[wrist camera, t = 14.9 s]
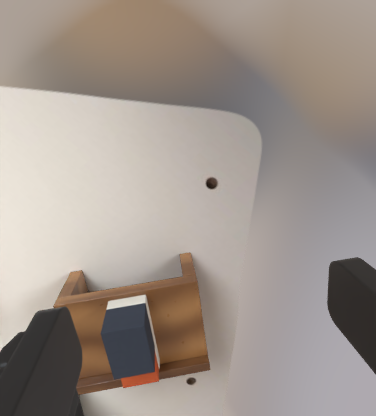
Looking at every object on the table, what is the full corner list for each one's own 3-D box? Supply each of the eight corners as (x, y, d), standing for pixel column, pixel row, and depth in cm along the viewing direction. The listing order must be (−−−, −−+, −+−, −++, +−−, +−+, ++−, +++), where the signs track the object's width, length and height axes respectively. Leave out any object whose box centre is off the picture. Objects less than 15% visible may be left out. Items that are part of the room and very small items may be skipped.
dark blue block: (108, 300, 32) (100, 333, 28) (145, 294, 33) (144, 325, 28) (125, 365, 36) (120, 404, 31) (159, 358, 36) (160, 396, 31)
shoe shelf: (70, 272, 38) (49, 313, 31) (190, 252, 39) (198, 287, 32) (92, 343, 42) (78, 395, 35) (200, 323, 43) (210, 370, 36)
